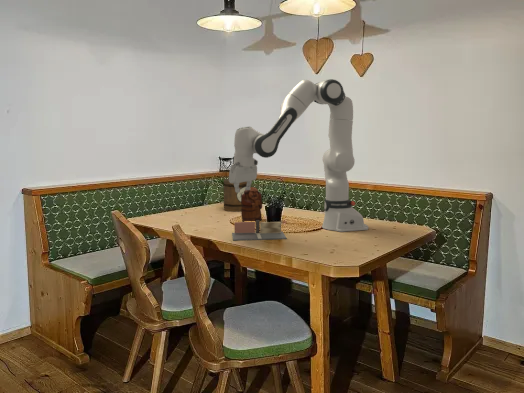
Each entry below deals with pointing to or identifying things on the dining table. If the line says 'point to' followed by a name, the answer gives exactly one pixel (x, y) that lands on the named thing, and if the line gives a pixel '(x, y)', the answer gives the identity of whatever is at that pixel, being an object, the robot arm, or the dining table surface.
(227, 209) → the wooden container
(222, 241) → the dining table surface
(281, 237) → the card
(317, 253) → the dining table surface
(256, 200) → the wooden figurine
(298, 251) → the dining table surface
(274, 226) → the fixed fence panel
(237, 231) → the hinged fence panel
